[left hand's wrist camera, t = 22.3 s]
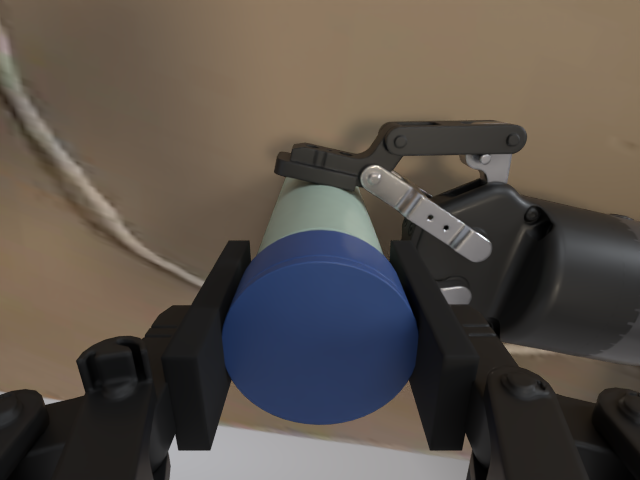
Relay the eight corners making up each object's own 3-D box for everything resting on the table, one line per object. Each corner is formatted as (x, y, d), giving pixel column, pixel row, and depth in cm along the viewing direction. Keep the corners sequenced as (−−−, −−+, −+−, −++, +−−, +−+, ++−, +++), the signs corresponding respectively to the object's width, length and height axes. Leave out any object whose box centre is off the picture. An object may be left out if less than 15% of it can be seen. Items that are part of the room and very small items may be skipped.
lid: (357, 197, 11) (365, 224, 9) (428, 334, 13) (449, 383, 11) (204, 276, 12) (180, 317, 10) (290, 393, 14) (285, 448, 12)
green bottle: (305, 141, 24) (284, 222, 10) (372, 179, 25) (440, 304, 11) (269, 207, 26) (207, 357, 11) (333, 241, 26) (348, 420, 12)
